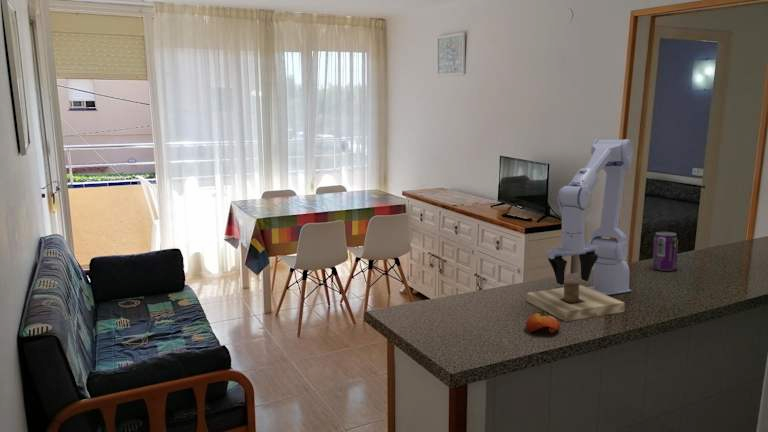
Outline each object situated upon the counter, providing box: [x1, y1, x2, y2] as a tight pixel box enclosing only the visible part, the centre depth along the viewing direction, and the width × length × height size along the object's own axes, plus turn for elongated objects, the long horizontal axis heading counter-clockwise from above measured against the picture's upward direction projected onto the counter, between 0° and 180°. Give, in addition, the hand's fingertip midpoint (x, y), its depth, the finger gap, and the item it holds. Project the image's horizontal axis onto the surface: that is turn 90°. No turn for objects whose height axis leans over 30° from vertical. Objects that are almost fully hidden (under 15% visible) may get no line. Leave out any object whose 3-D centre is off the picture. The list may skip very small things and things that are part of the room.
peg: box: [563, 281, 580, 304], centre depth 153 cm, size 4×4×7 cm
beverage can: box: [652, 231, 679, 272], centre depth 188 cm, size 7×7×12 cm
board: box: [526, 284, 626, 322], centre depth 156 cm, size 18×18×2 cm
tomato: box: [525, 310, 561, 335], centre depth 139 cm, size 8×7×7 cm
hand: (572, 281), depth 152 cm, fingers open, 7 cm apart
